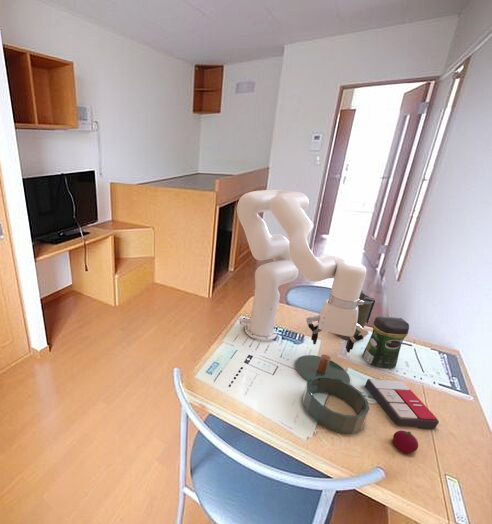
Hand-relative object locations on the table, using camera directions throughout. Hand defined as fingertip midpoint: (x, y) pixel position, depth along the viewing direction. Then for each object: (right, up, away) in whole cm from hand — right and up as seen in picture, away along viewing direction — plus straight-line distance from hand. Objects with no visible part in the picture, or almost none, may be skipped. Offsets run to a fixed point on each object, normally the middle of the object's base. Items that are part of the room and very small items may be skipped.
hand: (330, 346), depth 101 cm
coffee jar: (+24, -9, +10) cm, 28 cm away
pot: (-6, -17, -10) cm, 21 cm away
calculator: (+15, -17, -8) cm, 24 cm away
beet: (+6, -21, -21) cm, 30 cm away
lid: (0, -10, +5) cm, 11 cm away
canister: (+24, -2, +27) cm, 36 cm away
